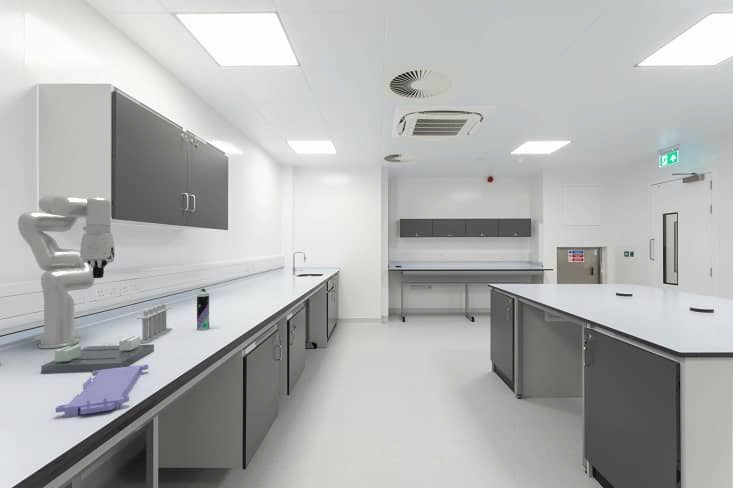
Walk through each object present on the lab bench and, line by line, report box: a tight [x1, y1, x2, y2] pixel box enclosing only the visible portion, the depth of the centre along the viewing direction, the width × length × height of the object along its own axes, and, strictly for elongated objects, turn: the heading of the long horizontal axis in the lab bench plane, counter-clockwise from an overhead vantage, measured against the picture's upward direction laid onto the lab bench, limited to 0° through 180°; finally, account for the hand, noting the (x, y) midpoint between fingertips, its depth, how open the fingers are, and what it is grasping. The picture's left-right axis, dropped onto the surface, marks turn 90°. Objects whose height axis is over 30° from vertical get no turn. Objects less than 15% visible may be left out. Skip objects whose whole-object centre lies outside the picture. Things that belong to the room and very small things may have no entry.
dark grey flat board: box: [40, 343, 155, 375], centre depth 126 cm, size 24×22×3 cm
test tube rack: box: [136, 303, 172, 345], centre depth 161 cm, size 25×4×13 cm, turn 8°
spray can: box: [196, 288, 210, 331], centre depth 174 cm, size 6×6×20 cm
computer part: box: [55, 364, 150, 418], centre depth 99 cm, size 30×4×15 cm
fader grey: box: [118, 335, 141, 351], centre depth 132 cm, size 4×6×4 cm, turn 5°
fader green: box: [54, 344, 82, 362], centre depth 119 cm, size 4×6×4 cm, turn 5°
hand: (98, 277), depth 135 cm, fingers closed
